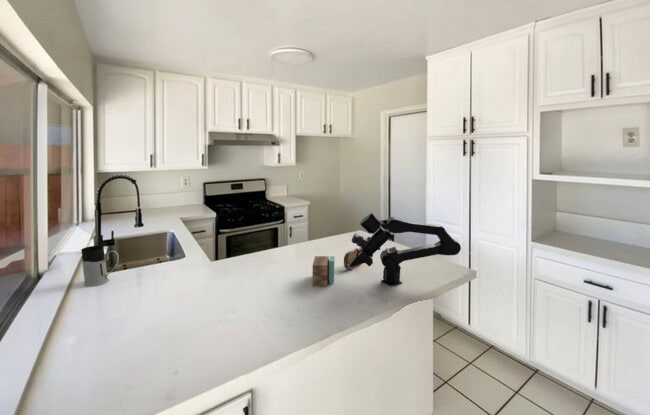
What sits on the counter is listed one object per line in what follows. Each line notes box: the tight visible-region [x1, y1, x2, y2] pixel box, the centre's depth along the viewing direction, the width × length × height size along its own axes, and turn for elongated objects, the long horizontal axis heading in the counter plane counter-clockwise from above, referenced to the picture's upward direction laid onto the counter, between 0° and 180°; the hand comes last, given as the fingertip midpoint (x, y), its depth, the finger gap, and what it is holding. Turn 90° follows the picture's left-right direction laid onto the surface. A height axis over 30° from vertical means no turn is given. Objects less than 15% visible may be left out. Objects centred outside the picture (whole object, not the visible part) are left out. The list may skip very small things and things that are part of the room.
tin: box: [343, 248, 362, 271], centre depth 155 cm, size 15×3×8 cm, turn 143°
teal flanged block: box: [328, 255, 335, 284], centre depth 137 cm, size 9×7×10 cm
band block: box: [312, 255, 330, 288], centre depth 137 cm, size 6×12×9 cm, turn 177°
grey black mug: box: [80, 245, 120, 288], centre depth 134 cm, size 9×14×15 cm, turn 94°
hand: (350, 266), depth 136 cm, fingers closed
